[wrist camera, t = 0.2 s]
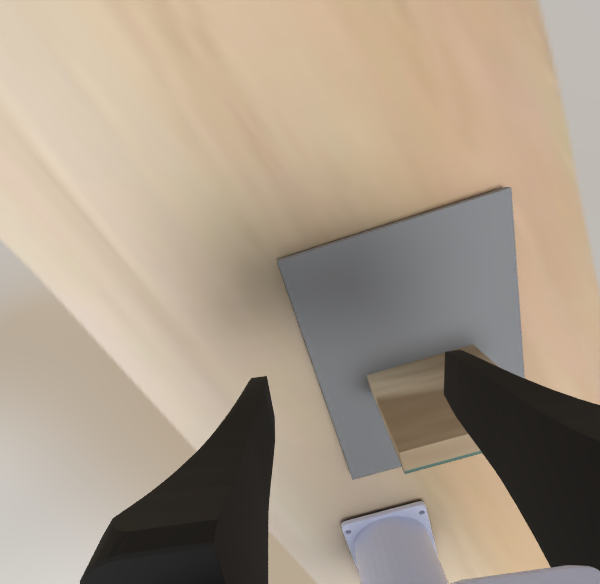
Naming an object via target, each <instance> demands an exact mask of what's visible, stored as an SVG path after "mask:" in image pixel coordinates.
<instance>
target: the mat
mask: <svg viewBox="0 0 600 584" xmlns="http://www.w3.org/2000/svg"><path fill="white" fill-rule="evenodd" d="M277 263H278V266H279V268H280V271H281V274H282V277H283V280H284V283H285V286H286V289H287V292H288V294H289V297H290V300H291V303H292V306H293V309H294V312H295V315H296V318H297V320H298V323H299V326H300V329H301V332H302V335H303V338H304V341H305V344H306V346H307V349H308V352H309V355H310V358H311V361H312V364H313V367H314V369H315V372H316V375H317V378H318V381H319V384H320V387H321V390H322V393H323V395H324V398H325V401H326V404H327V407H328V410H329V413H330V416H331V419H332V421H333V424H334V427H335V430H336V433H337V436H338V439H339V442H340V445H341V447H342V450H343V453H344V456H345V459H346V462H347V465H348V468H349V470H350V473H351V476H352V479H353V480H354V479H357V478H361V477H365V476H368V475H372V474H376V473H379V472H383V471H387V470H390V469H394V468H398V467H401V463H400V461H399V459H398V456H397V454H396V451H395V449H394V446H393V444H392V442H391V439H390V437H389V434H388V432H387V429H386V427H385V425H384V422H383V420H382V417H381V415H380V412H379V410H378V407H377V405H376V403H375V400H374V398H373V395H372V393H371V390H370V386H369V382H368V379H367V375H369V374H373V373H376V372H380V371H383V370H387V369H390V368H393V367H397V366H400V365H404V364H407V363H411V362H414V361H418V360H421V359H424V358H428V357H431V356H435V355H438V354H442V353H445V352H447V351H452V350H455V349H459V348H462V347H466V346H469V345H475V346H476V347H477V348H478V349H479V350H480V351H481V352H483V353H484V354H485V355H486V356H487V357H488V358H489V359H491V360H492V361H493V362H494V363H495V364H496V365H497V366H499V367H500V368H502V369H504V370H506V371H509V372H511V373H513V374H515V375H517V376H520V377H522V378H524V379H525V377H524V363H523V348H522V334H521V320H520V306H519V291H518V277H517V263H516V249H515V234H514V220H513V206H512V191H511V187H504V188H501V189H498V190H494V191H491V192H488V193H485V194H482V195H479V196H476V197H472V198H469V199H466V200H463V201H460V202H457V203H453V204H450V205H447V206H444V207H441V208H438V209H435V210H431V211H428V212H425V213H422V214H419V215H416V216H412V217H409V218H406V219H403V220H400V221H397V222H394V223H390V224H387V225H384V226H381V227H378V228H375V229H371V230H368V231H365V232H362V233H359V234H356V235H353V236H349V237H346V238H343V239H340V240H337V241H334V242H330V243H327V244H324V245H321V246H318V247H315V248H312V249H308V250H305V251H302V252H299V253H296V254H293V255H289V256H286V257H283V258H280V259H277Z"/></svg>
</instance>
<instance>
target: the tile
mask: <svg viewBox="0 0 600 584" xmlns="http://www.w3.org/2000/svg"><path fill="white" fill-rule="evenodd" d="M455 350H462V351H465V352H467V353H470V354H472V355H474V356H476V357H479V358H481V359H483V360H485V361H487V362H489V363H491V364H493V365H496V364H495V363H494V362H493V361H492V360H491V359H489V358H488V357H487V356H486V355H485V354H484V353H483V352H481V351H480V350H479V349H478V348H477V347H476V346H475V345H469V346H466V347H462V348H459V349H455ZM452 351H454V350H452ZM496 366H497V365H496ZM498 367H499V366H498ZM444 368H445V353H442V354H438V355H435V356H431V357H428V358H424V359H421V360H418V361H414V362H411V363H407V364H404V365H400V366H397V367H393V368H390V369H387V370H383V371H380V372H376V373H373V374H369V375H367V379H368V382H369V386H370V390H371V393H372V395H373V398H374V400H375V403H376V405H377V407H378V410H379V412H380V415H381V417H382V420H383V422H384V425H385V427H386V429H387V432H388V434H389V437H390V439H391V442H392V444H393V446H394V449H395V451H396V454H397V456H398V459H399V461H400V463H401V466H402V468H403V471H404V473H405V474H407V473H410V472H414V471H418V470H421V469H425V468H429V467H432V466H436V465H440V464H443V463H447V462H451V461H455V460H458V459H462V458H466V457H469V456H473V455H477V454H480V453H482V452H481V451H480V449H479V448H478V446H477V445H476V444H475V442H474V441H473V440H472V438H471V437H470V436H469V434H468V433H467V431H466V430H465V429H464V427H463V426H462V425H461V423H460V422H459V420H458V419H457V417H456V416H455V414H454V412H453V411H452V409H451V407H450V405H449V403H448V401H447V400H446V398H445V396H444Z"/></svg>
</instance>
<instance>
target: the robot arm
mask: <svg viewBox="0 0 600 584" xmlns="http://www.w3.org/2000/svg"><path fill="white" fill-rule="evenodd" d="M444 396H445V398H446V400H447V401H448V403H449V405H450V407H451V409H452V411H453V412H454V414H455V416H456V417H457V419H458V420H459V422H460V423H461V425H462V426H463V427H464V429H465V430H466V431H467V433H468V434H469V436H470V437H471V438H472V440H473V441H474V442H475V444H476V445H477V446H478V448H479V449H480V451H481V452H482V453H483V455H484V456H485V457H486V459H487V460H488V461H489V463H490V464H491V465H492V467H493V468H494V470H495V471H496V473H497V474H498V476H499V477H500V479H501V480H502V482H503V483H504V485H505V487H506V488H507V490H508V492H509V493H510V495H511V497H512V498H513V500H514V502H515V503H516V505H517V507H518V509H519V510H520V512H521V514H522V516H523V517H524V519H525V521H526V523H527V524H528V526H529V528H530V530H531V531H532V533H533V535H534V537H535V538H536V540H537V542H538V544H539V546H540V548H541V550H542V552H543V553H544V555H545V557H546V559H547V561H548V563H549V565H550V566H551V568H545V569H537V570H530V571H523V572H516V573H509V574H501V575H494V576H487V577H480V578H473V579H465V580H461V581H457V582H454V583H451V584H600V405H597V404H593V403H590V402H587V401H584V400H581V399H577V398H575V397H572V396H569V395H566V394H563V393H560V392H557V391H554V390H552V389H549V388H546V387H544V386H541V385H539V384H537V383H534V382H532V381H529V380H527V379H524V378H522V377H520V376H517V375H515V374H513V373H511V372H509V371H506V370H504V369H502V368H500V367H498V366H496V365H493V364H491V363H489V362H487V361H485V360H483V359H481V358H479V357H476V356H474V355H472V354H470V353H467V352H465V351H462V350H454V351H447V352H445V368H444ZM274 446H275V417H274V412H273V407H272V401H271V396H270V391H269V386H268V380H267V376H264V377H256V378H251V380H250V381H249V382H248V384H247V386H246V387H245V389H244V391H243V392H242V394H241V396H240V397H239V399H238V400H237V402H236V403H235V405H234V406H233V408H232V409H231V411H230V412H229V414H228V415H227V416H226V418H225V419H224V420H223V422H222V423H221V424H220V425H219V427H218V428H217V429H216V431H215V432H214V433H213V434H212V436H211V437H210V438H209V439H208V440H207V441H206V442H205V444H204V445H203V446H202V447H201V448H200V449H199V450H198V451H197V452H196V453H195V454H194V455H193V456H192V457H191V458H190V459H189V460H188V461H186V462H185V463H184V464H183V465H182V466H181V467H180V468H179V469H178V470H177V471H176V472H175V473H173V474H172V475H171V476H170V477H169V478H168V479H166V480H165V481H164V482H163V483H161V484H160V485H159V486H158V487H156V488H155V489H154V490H152V491H151V492H150V493H148V494H147V495H146V496H144V497H143V498H142V499H140V500H139V501H137V502H136V503H134V504H133V505H132V506H130V507H129V508H127V509H126V510H124V511H123V512H122V513H120V514H119V515H117V516H116V517H114V518H113V519H112V521H111V523H110V524H109V526H108V528H107V529H106V531H105V533H104V535H103V537H102V538H101V540H100V542H99V544H98V546H97V548H96V550H95V552H94V555H93V556H92V558H91V560H90V562H89V565H88V566H87V568H86V571H85V572H84V575H83V576H82V578H81V580H80V584H268V510H269V496H270V486H271V476H272V466H273V456H274ZM341 528H342V531H343V534H344V536H345V539H346V542H347V544H348V547H349V549H350V552H351V554H352V557H353V559H354V562H355V564H356V567H357V569H358V572H359V576H360V582H361V584H449V583H448V580H447V578H446V575H445V573H444V571H443V568H442V566H441V563H440V561H439V558H438V554H437V550H436V546H435V542H434V537H433V533H432V529H431V525H430V521H429V517H428V513H427V509H426V506H425V504H424V502H422V501H418V502H415V503H411V504H407V505H403V506H399V507H396V508H392V509H388V510H384V511H381V512H377V513H373V514H369V515H365V516H362V517H358V518H354V519H350V520H347V521H344V522H342V523H341Z"/></svg>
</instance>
